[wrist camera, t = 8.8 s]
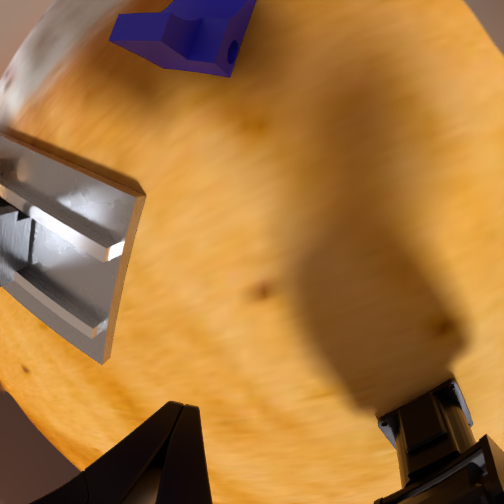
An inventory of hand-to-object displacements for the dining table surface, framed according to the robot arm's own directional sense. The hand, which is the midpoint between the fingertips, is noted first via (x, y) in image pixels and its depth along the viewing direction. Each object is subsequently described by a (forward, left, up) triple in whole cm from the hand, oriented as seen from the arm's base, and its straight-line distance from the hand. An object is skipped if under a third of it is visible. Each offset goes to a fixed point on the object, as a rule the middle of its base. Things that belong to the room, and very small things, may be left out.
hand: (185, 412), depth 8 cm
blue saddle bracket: (+16, -9, -12) cm, 22 cm away
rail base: (+13, +14, -12) cm, 22 cm away
